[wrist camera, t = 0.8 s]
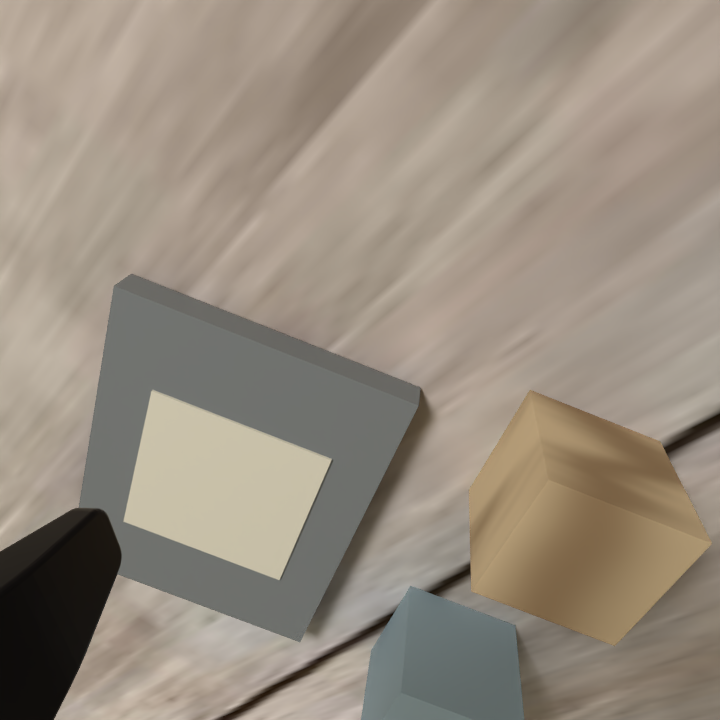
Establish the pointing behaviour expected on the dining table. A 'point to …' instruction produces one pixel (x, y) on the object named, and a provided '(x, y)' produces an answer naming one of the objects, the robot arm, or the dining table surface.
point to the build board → (234, 455)
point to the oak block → (579, 521)
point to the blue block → (443, 664)
